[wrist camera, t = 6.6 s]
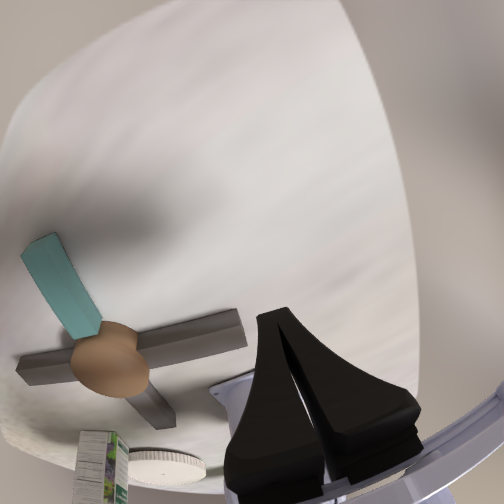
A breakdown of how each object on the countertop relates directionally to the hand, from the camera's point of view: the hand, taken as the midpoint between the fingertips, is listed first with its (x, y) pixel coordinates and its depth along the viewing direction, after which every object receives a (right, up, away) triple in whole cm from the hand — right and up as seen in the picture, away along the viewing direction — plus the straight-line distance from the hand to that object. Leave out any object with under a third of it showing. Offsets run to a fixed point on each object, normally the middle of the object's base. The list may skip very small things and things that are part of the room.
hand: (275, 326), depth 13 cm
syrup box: (-22, -23, +19) cm, 37 cm away
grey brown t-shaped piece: (-13, -9, +13) cm, 20 cm away
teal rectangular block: (-15, +1, +7) cm, 17 cm away
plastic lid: (-16, -30, +25) cm, 42 cm away
